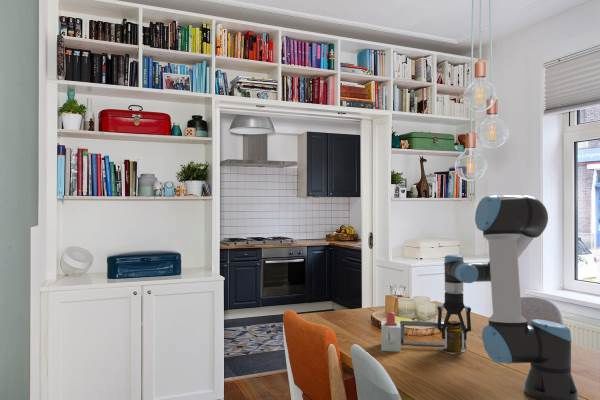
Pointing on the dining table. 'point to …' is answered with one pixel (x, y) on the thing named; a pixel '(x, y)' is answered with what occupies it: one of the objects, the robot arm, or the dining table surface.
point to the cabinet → (390, 337)
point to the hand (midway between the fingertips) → (454, 347)
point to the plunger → (390, 318)
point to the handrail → (425, 324)
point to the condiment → (453, 338)
